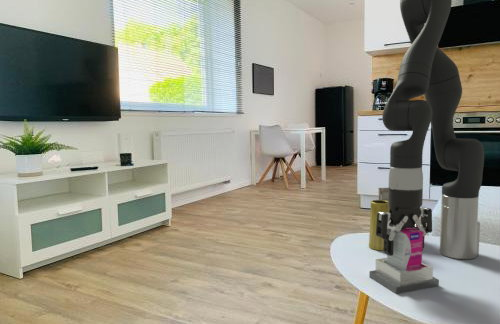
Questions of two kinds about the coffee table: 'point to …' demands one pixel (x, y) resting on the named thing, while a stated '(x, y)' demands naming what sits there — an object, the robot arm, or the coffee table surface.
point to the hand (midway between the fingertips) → (403, 252)
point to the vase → (376, 206)
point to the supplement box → (407, 250)
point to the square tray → (403, 277)
